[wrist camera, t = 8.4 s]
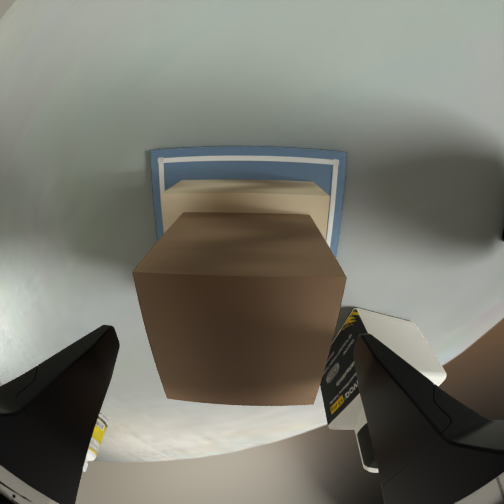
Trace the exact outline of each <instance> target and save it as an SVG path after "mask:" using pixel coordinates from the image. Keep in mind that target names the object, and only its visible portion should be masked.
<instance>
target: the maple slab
mask: <svg viewBox="0 0 504 504" xmlns="http://www.w3.org/2000/svg"><path fill="white" fill-rule="evenodd" d="M160 195H161V208H162V219H163V230H164V233H165V232H166V231H167V230H168V229H169V228H170V227H171V225H172V224H173V223H174V222H175V221H176V220H177V219H178V218H179V216H180V215H181V214H182V213H183V212H224V213H274V214H303V215H310V216H311V218H312V219H313V221H314V222H315V224H316V226H317V227H318V229H319V231H320V232H321V234H322V236H323V237H324V239H325V240H326V232H327V222H328V213H329V202H330V196H329V195H328V194H327V193H326V192H325V191H324V190H322V189H321V188H320V187H319V186H318V185H317V184H316V183H314V182H309V181H288V180H252V179H209V180H181V181H180V182H178V183H177V184H175V185H174V186H172V187H170V188H169V189H167V190H166V191H164V192H163V193H161V194H160Z"/></svg>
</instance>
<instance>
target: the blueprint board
mask: <svg viewBox="0 0 504 504" xmlns="http://www.w3.org/2000/svg"><path fill="white" fill-rule="evenodd" d="M150 153H151V173H152V188H153V201H154V212H155V222H156V231H157V240H159V239H160V238H161V237H162V236H163V235H164V230H163V219H162V208H161V195H160V194H161V193H163V192H164V191H166V190H167V189H169V188H170V187H172V186H174V185H175V184H177V183H178V182H180V181H181V180H209V179H252V180H288V181H309V182H314V183H316V184H317V185H318V186H319V187H320V188H321V189H322V190H324V191H325V192H326V193H327V194H328V195H329V196H330V202H329V213H328V222H327V232H326V240H325V241H326V242H327V244H328V246H329V247H330V249H331V251H332V253H333V254H334V256H335V258H336V254H337V247H338V240H339V232H340V224H341V216H342V207H343V197H344V187H345V175H346V161H347V152H342V151H332V150H321V149H308V148H292V147H267V146H212V147H187V148H171V149H158V150H150Z"/></svg>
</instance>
